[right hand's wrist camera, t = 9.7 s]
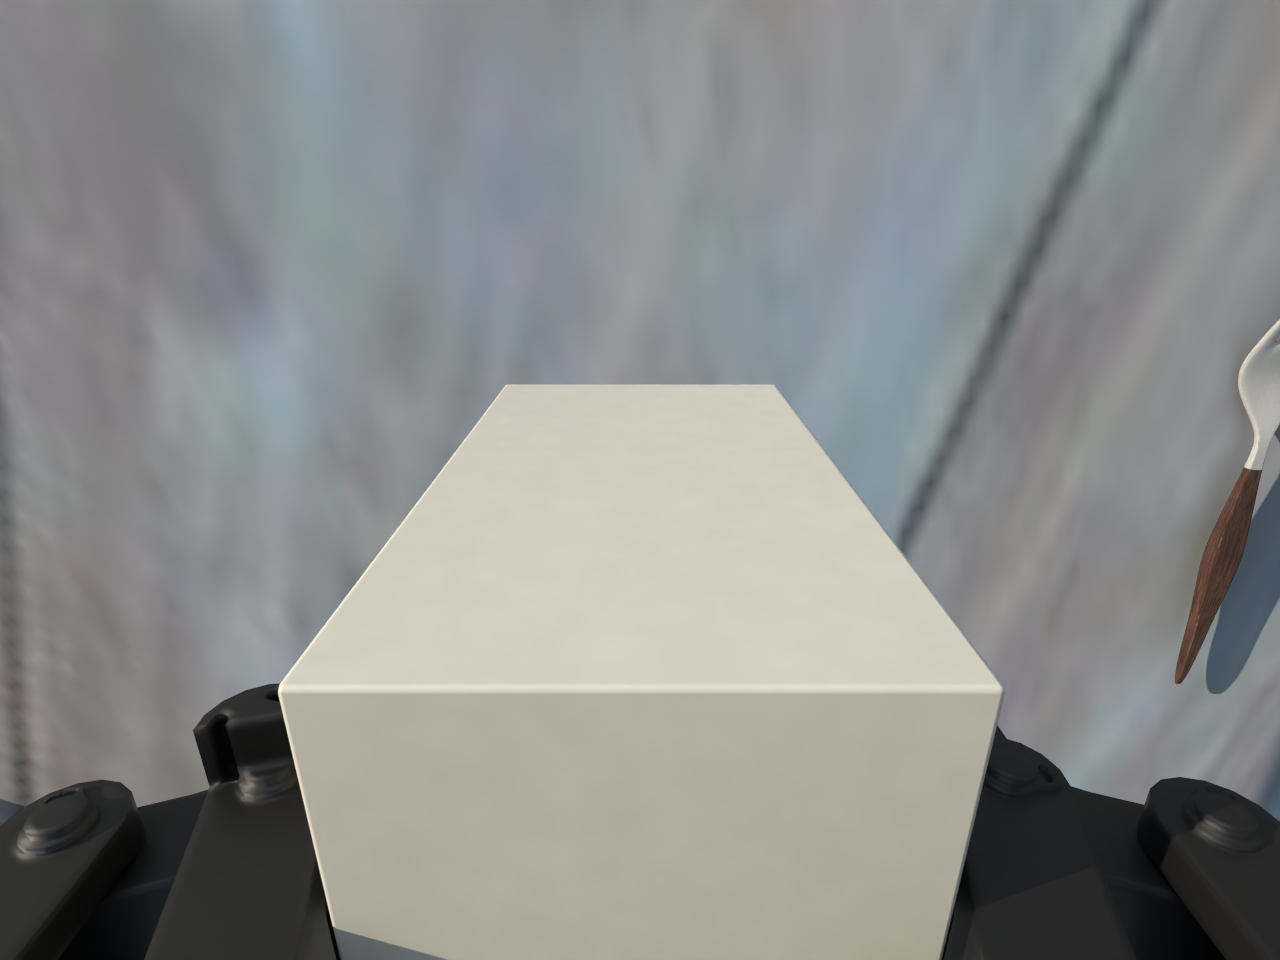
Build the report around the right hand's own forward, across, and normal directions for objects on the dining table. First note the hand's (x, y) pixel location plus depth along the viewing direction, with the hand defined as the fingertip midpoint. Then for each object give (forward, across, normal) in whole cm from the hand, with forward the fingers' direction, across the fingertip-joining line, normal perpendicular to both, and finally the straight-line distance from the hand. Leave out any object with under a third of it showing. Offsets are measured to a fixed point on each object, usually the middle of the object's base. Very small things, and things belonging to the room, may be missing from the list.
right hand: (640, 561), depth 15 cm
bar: (+1, 0, -9) cm, 9 cm away
